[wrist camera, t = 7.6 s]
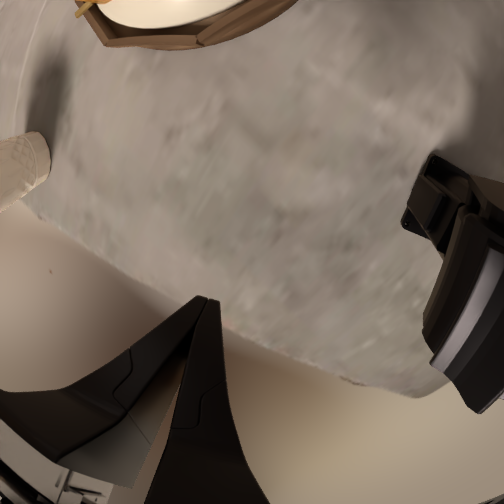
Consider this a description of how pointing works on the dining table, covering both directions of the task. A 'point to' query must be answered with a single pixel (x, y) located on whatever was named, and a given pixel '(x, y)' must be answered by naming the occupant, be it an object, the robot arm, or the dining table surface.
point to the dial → (162, 11)
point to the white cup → (22, 166)
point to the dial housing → (185, 26)
